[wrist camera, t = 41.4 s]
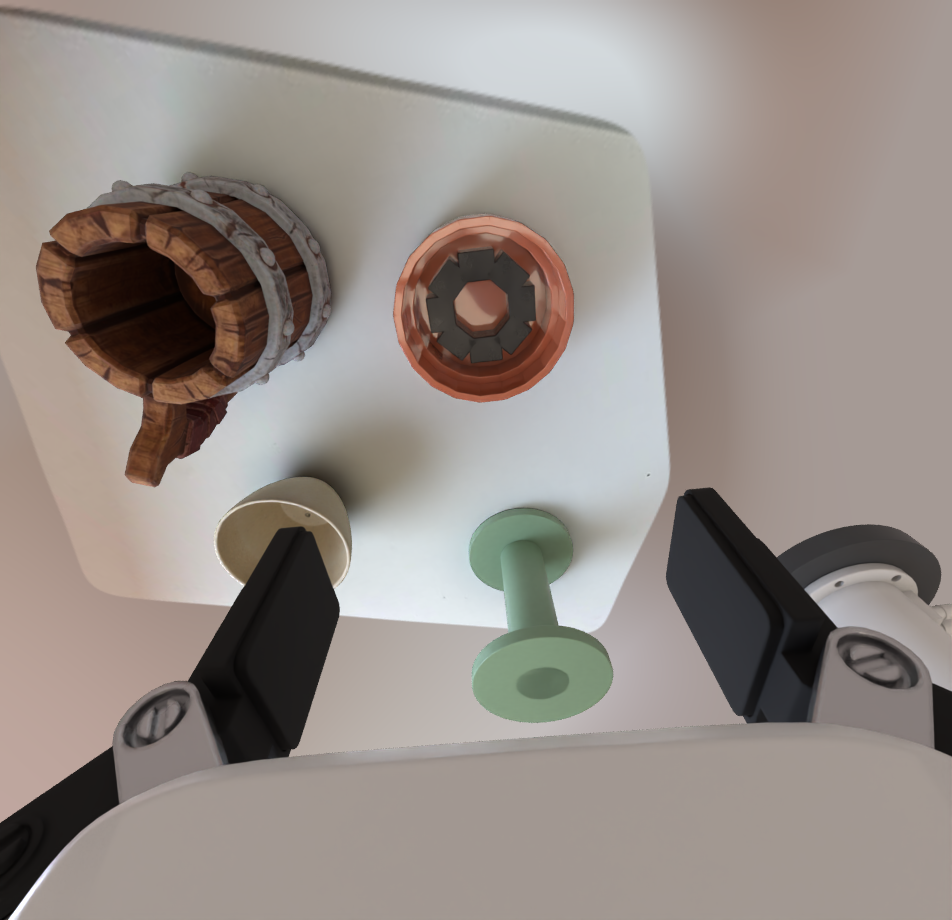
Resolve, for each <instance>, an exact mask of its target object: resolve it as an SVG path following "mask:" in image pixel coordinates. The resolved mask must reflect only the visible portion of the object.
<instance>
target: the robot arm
mask: <svg viewBox="0 0 952 920" xmlns="http://www.w3.org/2000/svg"><path fill="white" fill-rule="evenodd" d="M666 580H667V585H668V588H669V590H670V592H671V594H672V596H673V598H674V599H675V601H676V603H677V605H678V607H679V609H680V611H681V613H682V615H683V617H684V618H685V620H686V622H687V624H688V626H689V628H690V630H691V632H692V634H693V636H694V638H695V640H696V641H697V643H698V645H699V647H700V649H701V651H702V653H703V655H704V657H705V659H706V661H707V662H708V664H709V666H710V668H711V670H712V672H713V674H714V676H715V678H716V680H717V681H718V683H719V685H720V687H721V689H722V691H723V693H724V695H725V697H726V699H727V701H728V702H729V704H730V706H731V708H732V709H733V711H734V712H735V714H736V715H738V716H743V717H744V719H745V720H746V722H747V724H730V725H710V726H690V727H675V728H662V729H646V730H632V731H618V732H603V733H589V734H574V735H561V736H547V737H534V738H519V739H507V740H506V739H505V740H493V741H479V742H465V743H452V744H439V745H427V746H414V747H401V748H389V749H376V750H363V751H351V752H338V753H326V754H317V755H306V756H296V757H289V754H290V751H291V749H295V748H297V746H298V744H299V742H300V739H301V736H302V733H303V730H304V727H305V723H306V720H307V717H308V713H309V711H310V707H311V704H312V701H313V698H314V695H315V691H316V688H317V685H318V682H319V679H320V676H321V672H322V669H323V666H324V663H325V660H326V656H327V653H328V650H329V647H330V644H331V641H332V637H333V634H334V631H335V628H336V625H337V621H338V618H339V613H340V607H339V602H338V599H337V597H336V594H335V591H334V589H333V586H332V583H331V581H330V578H329V575H328V573H327V570H326V567H325V564H324V562H323V559H322V556H321V554H320V551H319V548H318V546H317V543H316V540H315V538H314V535H313V533H312V532H311V531H306V529H305V528H304V527H302V526H298V527H288V528H280V529H278V530H277V532H276V533H275V535H274V537H273V538H272V540H271V542H270V543H269V545H268V547H267V549H266V550H265V552H264V554H263V555H262V557H261V559H260V561H259V562H258V564H257V566H256V567H255V569H254V571H253V572H252V574H251V576H250V578H249V579H248V581H247V583H246V584H245V586H244V587H243V589H242V590H241V592H240V593H239V595H238V597H237V598H236V600H235V602H234V604H233V605H232V607H231V609H230V610H229V612H228V614H227V616H226V617H225V619H224V621H223V622H222V624H221V626H220V627H219V629H218V631H217V632H216V634H215V636H214V638H213V639H212V641H211V643H210V644H209V646H208V648H207V649H206V651H205V653H204V655H203V656H202V658H201V660H200V661H199V663H198V665H197V666H196V668H195V670H194V671H193V673H192V675H191V677H190V678H189V680H188V681H174V682H171V683H167V684H164V685H162V686H160V687H158V688H156V689H154V690H152V691H150V692H149V693H147V694H146V695H144V696H143V697H142V698H140V699H139V700H138V701H137V702H136V703H135V704H134V705H133V706H132V707H130V708H129V709H128V710H127V712H126V713H125V715H124V716H123V717H122V718H121V720H120V721H119V723H118V725H117V727H116V730H115V732H114V737H113V746H112V747H111V748H109V749H108V750H106V751H105V752H103V753H102V754H100V755H99V756H97V757H96V758H94V759H93V760H92V761H90V762H89V763H87V764H86V765H84V766H83V767H81V768H80V769H78V770H77V771H76V772H74V773H73V774H71V775H70V776H68V777H67V778H65V779H64V780H62V781H61V782H60V783H58V784H56V785H55V786H53V787H52V788H51V789H49V790H48V791H46V792H45V793H43V794H42V795H40V796H39V797H37V798H36V799H34V800H33V801H32V802H30V803H29V804H27V805H26V806H24V807H23V808H21V809H20V810H18V811H17V812H16V813H14V814H13V815H11V816H10V817H8V818H7V819H5V820H4V821H2V822H1V823H0V920H952V604H944V605H936V606H932V607H931V606H929V605H927V604H926V603H925V602H924V601H923V600H922V599H920V598H919V597H918V589H917V585H916V583H915V582H914V580H913V579H912V578H911V577H910V576H909V575H908V574H906V573H905V572H904V571H903V570H901V569H900V568H897V567H895V566H893V565H888V564H884V563H866V564H857V565H853V566H848V567H845V568H842V569H839V570H836V571H833V572H831V573H829V574H827V575H825V576H823V577H821V578H819V579H817V580H816V581H814V582H812V583H811V584H809V585H808V586H807V587H806V588H804V589H803V587H802V586H801V585H800V584H799V583H798V582H797V581H796V579H795V578H794V577H793V576H792V575H791V574H790V573H789V571H788V570H787V569H786V568H785V567H784V566H783V565H782V563H781V562H780V561H779V560H778V559H777V558H776V557H775V555H774V554H773V553H772V552H771V551H770V550H769V549H768V547H767V546H766V545H765V544H764V543H763V542H762V541H760V539H758V538H756V537H755V536H754V535H753V533H752V532H751V531H750V530H749V529H748V528H747V527H746V525H745V524H744V523H743V522H742V521H741V520H740V519H739V517H738V516H737V515H736V514H735V513H734V512H733V511H732V509H731V508H730V507H729V506H728V505H727V504H726V502H725V501H724V500H723V499H722V498H721V497H720V495H719V494H718V493H717V492H716V491H715V490H714V489H713V488H700V489H689V490H687V491H686V492H685V493H684V496H680V497H679V498H678V500H677V505H676V512H675V519H674V525H673V532H672V539H671V545H670V552H669V558H668V565H667V572H666Z"/></svg>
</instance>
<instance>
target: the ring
mask: <svg viewBox="0 0 952 920" xmlns="http://www.w3.org/2000/svg"><path fill="white" fill-rule="evenodd" d="M458 262H459V263H458ZM458 262H456V261H455V260H454V259H453V258H452V257H451V256H449V257H448V258H447V259H446V261H445V262H444V264H443V265H442V267H441V268H440V269H439V271H438V272H437V274H436V275H435V277H434V278H433V280H432V281H431V282H430V284H429V287H428V290H430V291H431V292H432V293H429V294H427V297H426V305H427V311H428V318H429V324H430V330H431V333H438V332H439V333H438V335H437V341H436V342H437V343H439V344H440V345H441V346H443V347H444V348H445V349H447V350H448V351H449V352H451V353H452V354H453V355H455V356H456V357H457V358H458V359H460V360H461V361H463V360H464V359H465V357H466V356H467V355H468V354H469V352H470V361H471V363H481V362H489V361H498V360H503V353H502V349H503V350H505V351H506V352H507V353H508V354H510V355H512V354H513V353H514V351H515V350H516V349H517V348H518V347H519V345H520V344H521V343H522V342H523V341H524V340H525V338H526V337H527V336H528V335H529V334H530V332H531V331H532V328H531V326H530V324H529V323H528V322H529V321H536V306H535V286H534V284H533V283H532V282H531V281H527V280H528V278H529V277H530V275H529V274H528V273H527V272H526V271H525V270H524V269H523V268H522V267H521V266H520V265H519V264H518V263H516V262H515V261H514V260H513V259H512V258H511V257H510V256H509V255H508V254H506V253H505V252H504V251H503V250H502V249H501V250H500V251H499V253H498V254H497V255H496V257H494V249H493V247H492V246H488V247H480V248H472V249H465V250H458ZM484 280H491V281H492V282H493V283H495V284H496V285H497V286H498V287H499V288H500V289H502V290H503V291H504V292H505V293H506V305H507V313H506V314H505V316H504V317H503V318H502V319H501V321H500V322H499V323H498V324H497V326H496V327H495V328H494V329H491V330H483V331H474V332H473V331H472V330H470V329H469V328H468V327H467V326H465V325H464V324H463V323H462V322H460V321H459V320H458V319H457V318H456V310H455V303H454V300H455V299H456V297H457V296H458V294H459V293H460V292H461V290H462V289H463V288H464V286H465V285H466V284H467V283H468V282H476V281H484Z"/></svg>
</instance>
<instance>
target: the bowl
mask: <svg viewBox="0 0 952 920" xmlns="http://www.w3.org/2000/svg"><path fill="white" fill-rule="evenodd" d="M488 246H492V247H493V249H494V257H496V255H497V254H498V253H499V251H500V250H501V249H502V250H503V251H504V252H505V253H506V254H508V255H509V256H510V257H511V258H512V259H513V260H514V261H515V262H516V263H518V264H519V265H520V266H521V267H522V268H523V269H524V270H525V271H526V272H527V273H528V274H529V275H530V277H529V278H528V280H527V281H531V282H532V283H533V284H534V286H535V306H536V321H529V322H528V323H529V324H530V326H531V328H532V331H531V332H530V334H529V335H528V336H527V337H526V338H525V340H524V341H523V342H522V343H521V344H520V345H519V347H518V348H517V349H516V350H515V351H514V353H513V354H512V355H510V354H508V353H507V352H506V351H505V350H503V349H502V353H503V360H498V361H489V362H481V363H471V361H470V352H469V354H468V355H467V356H466V357H465V359H464V360H463V361H461V360H460V359H458V358H457V357H456V356H455V355H453V354H452V353H451V352H449V351H448V350H447V349H445V348H444V347H443V346H441V345H440V344H439V343H437V342H436V341H437V335H438V333H439V332H438V333H431V330H430V324H429V318H428V311H427V305H426V297H427V294H429V293H432V292H431V291H430V290H428V287H429V284H430V282H431V281H432V280H433V278H434V277H435V275H436V274H437V272H438V271H439V269H440V268H441V267H442V265H443V264H444V262H445V261H446V259H447V258H448V257H449V256H451V257H452V258H453V259H454V260H455V261H456V262H458V250H465V249H472V248H480V247H488ZM458 263H459V262H458ZM454 303H455V310H456V318H457V319H458V320H459V321H460V322H462V323H463V324H464V325H465V326H467V327H468V328H469V329H470V330H472V331H473V332H474V331H483V330H491V329H494V328H495V327H496V326H497V324H498V323H499V322H500V321H501V319H502V318H503V317H504V316H505V314H506V313H507V305H506V293H505V292H504V291H503V290H502V289H500V288H499V287H498V286H497V285H496V284H495V283H493V282H492V281H491V280H484V281H476V282H468V283H467V284H466V285H465V286H464V288H463V289H462V290H461V292H460V293H459V294H458V296H457V297H456V299H455V300H454ZM393 317H394V322H395V327H396V332H397V337H398V342H399V345H400V346H401V348H402V350H403V352H404V354H405V356H406V357H407V359H408V361H409V363H410V365H411V366H412V367H413V369H414V370H415V371H416V372H417V373H418V374H419V375H420V376H421V377H422V378H423V379H424V380H425V381H426V382H428V383H429V384H430V385H431V386H432V387H434V388H436V389H438V390H440V391H442V392H444V393H446V394H448V395H450V396H451V397H453V398H457V399H462V400H468V401H474V402H490V401H498V400H505V399H508V398H510V397H513V396H515V395H517V394H520V393H522V392H524V391H527V390H529V389H530V388H532V387H533V386H534V385H535V384H536V383H538V382H539V381H540V380H541V379H543V378H544V377H545V376H546V375H547V374H549V373H550V371H551V370H552V369H553V367H554V366H555V364H556V363H557V361H558V360H559V358H560V357H561V355H562V354H563V352H564V351H565V349H566V346H567V342H568V339H569V336H570V333H571V329H572V326H573V322H574V293H573V289H572V286H571V283H570V280H569V276H568V273H567V270H566V267H565V265H564V263H563V261H562V260H561V259H560V257H559V256H558V255H557V253H556V252H555V251H554V249H553V248H552V247H551V245H550V244H549V243H548V241H547V240H546V239H545V238H543V237H542V236H540V235H539V234H537V233H536V232H534V231H533V230H531V229H529V228H528V227H526V226H525V225H523V224H522V223H520V222H518V221H515V220H512V219H509V218H504V217H500V216H496V215H492V214H485V213H484V214H476V215H468V216H461V217H457V218H455V219H453V220H452V221H450V222H448V223H446V224H444V225H442V226H440V227H438V228H436V229H435V230H433V232H432V233H431V234H430V235H429V236H428V237H427V238H426V239H425V240H424V241H423V242H422V243H421V244H420V246H419V247H418V248H417V249H416V250H415V251H414V252H413V253H412V254H411V255H410V257H409V258H408V260H407V262H406V265H405V267H404V269H403V271H402V274H401V276H400V278H399V280H398V283H397V286H396V292H395V302H394V311H393Z"/></svg>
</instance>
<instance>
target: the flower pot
mask: <svg viewBox="0 0 952 920" xmlns="http://www.w3.org/2000/svg"><path fill="white" fill-rule="evenodd" d="M309 514H310V516H309ZM298 526H302V527H304V528H305V529H306V531H311V532H312V533H313V535H314V538H315V540H316V543H317V546H318V548H319V551H320V554H321V556H322V559H323V562H324V564H325V567H326V570H327V573H328V575H329V578H330V581H331V583H332V586H333V589H334V588H336V587H337V586H338V585H339V584H340V583H341V582H342V581H343V579H344V578H345V576H346V575H347V572H348V570H349V566H350V561H351V552H352V537H351V528H350V523H349V519H348V515H347V512H346V509H345V507H344V505H343V503H342V501H341V499H340V497H339V496H338V494H337V493H336V492H335V490H334V489H333V488H332V487H331V486H330V485H328V484H327V483H325V482H324V481H322V480H319V479H317V478H313V477H294V478H288V479H284V480H280V481H277V482H274V483H272V484H269V485H267V486H265V487H263V488H261V489H259V490H257V491H255V492H253V493H252V494H250V495H249V496H247V497H246V498H244V499H243V500H241V501H240V502H239V503H237V504H236V505H235V506H234V507H233V508H232V509H230V510H229V511H228V512H227V513H226V514H225V515H224V516H223V518H222V519H221V520H220V521H219V523H218V525H217V527H216V530H215V534H214V547H215V552H216V554H217V557H218V559H219V561H220V563H221V565H222V566H223V567H224V569H225V570H226V571H227V572H228V573H229V574H230V575H231V576H232V577H233V578H234V579H235V580H236V581H238V582H239V583H240V584H242V585H243V586H245V584H246V583H247V581H248V579H249V578H250V576H251V574H252V572H253V571H254V569H255V567H256V566H257V564H258V562H259V561H260V559H261V557H262V555H263V554H264V552H265V550H266V549H267V547H268V545H269V543H270V542H271V540H272V538H273V537H274V535H275V533H276V532H277V530H278V529H280V528H288V527H298Z"/></svg>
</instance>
